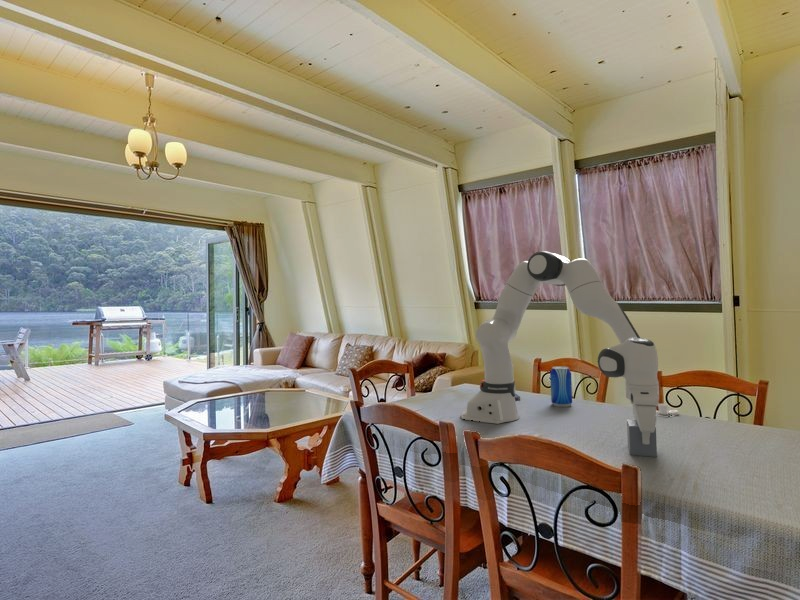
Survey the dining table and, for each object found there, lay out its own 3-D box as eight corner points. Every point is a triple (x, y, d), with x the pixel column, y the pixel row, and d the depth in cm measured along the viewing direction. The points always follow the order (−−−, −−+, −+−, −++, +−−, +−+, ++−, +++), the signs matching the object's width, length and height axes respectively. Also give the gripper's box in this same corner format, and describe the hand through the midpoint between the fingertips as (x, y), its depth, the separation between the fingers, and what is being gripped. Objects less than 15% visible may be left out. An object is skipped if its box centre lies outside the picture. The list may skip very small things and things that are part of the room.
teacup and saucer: (680, 414, 175) (680, 404, 175) (674, 419, 169) (673, 408, 169) (655, 411, 181) (655, 400, 181) (648, 415, 176) (648, 405, 176)
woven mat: (515, 396, 217) (515, 391, 217) (521, 401, 206) (521, 397, 206) (493, 397, 216) (493, 393, 216) (498, 402, 206) (498, 398, 206)
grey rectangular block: (630, 454, 136) (629, 425, 136) (627, 446, 142) (626, 419, 142) (656, 456, 133) (655, 427, 133) (653, 448, 140) (652, 420, 140)
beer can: (573, 407, 190) (572, 369, 190) (552, 407, 192) (551, 369, 191) (570, 402, 198) (569, 365, 198) (550, 402, 200) (548, 365, 200)
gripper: (627, 384, 148) (628, 427, 148) (634, 400, 129) (635, 448, 129) (649, 385, 146) (650, 428, 146) (659, 401, 127) (661, 450, 127)
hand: (643, 438), depth 137 cm, fingers open, 8 cm apart
